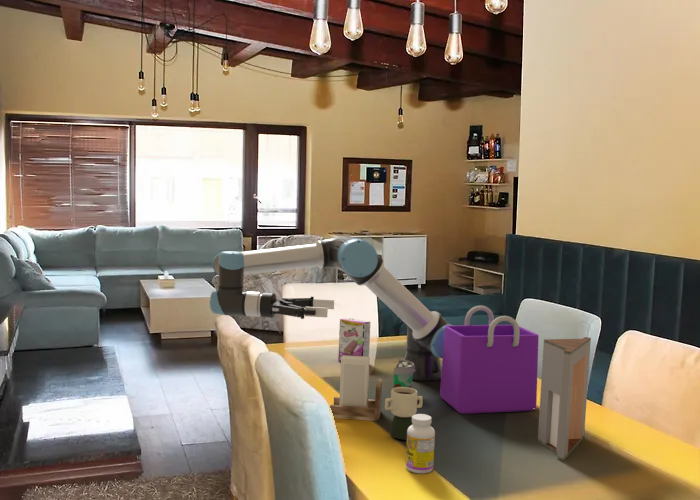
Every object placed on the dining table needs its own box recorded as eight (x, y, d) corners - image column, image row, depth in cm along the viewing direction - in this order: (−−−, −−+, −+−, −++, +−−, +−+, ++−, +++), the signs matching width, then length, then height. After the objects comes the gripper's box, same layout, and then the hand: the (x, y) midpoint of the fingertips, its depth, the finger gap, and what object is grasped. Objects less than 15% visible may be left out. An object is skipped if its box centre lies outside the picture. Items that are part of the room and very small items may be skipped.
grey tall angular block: (563, 461, 176) (570, 351, 173) (526, 452, 181) (532, 346, 178) (584, 437, 193) (590, 337, 191) (549, 429, 199) (555, 332, 196)
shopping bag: (501, 390, 235) (506, 302, 233) (545, 410, 216) (551, 314, 213) (430, 398, 224) (434, 306, 221) (469, 420, 204) (474, 319, 201)
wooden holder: (380, 411, 209) (382, 378, 208) (378, 421, 200) (380, 387, 199) (334, 408, 211) (335, 375, 210) (329, 417, 202) (330, 383, 201)
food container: (412, 400, 221) (413, 369, 220) (392, 398, 222) (394, 367, 221) (416, 389, 233) (417, 360, 232) (397, 387, 234) (399, 358, 233)
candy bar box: (337, 361, 267) (339, 318, 265) (344, 358, 271) (346, 317, 269) (362, 366, 261) (364, 322, 259) (369, 363, 265) (371, 320, 263)
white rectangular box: (367, 409, 207) (369, 356, 206) (366, 414, 203) (368, 360, 201) (340, 407, 208) (342, 355, 207) (339, 412, 204) (340, 358, 202)
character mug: (415, 431, 193) (417, 385, 192) (426, 440, 186) (428, 393, 185) (378, 434, 190) (380, 387, 188) (388, 444, 183) (390, 395, 182)
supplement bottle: (403, 463, 171) (405, 412, 169) (430, 463, 171) (432, 412, 170) (407, 474, 164) (410, 421, 163) (435, 474, 165) (438, 421, 163)
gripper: (270, 309, 225) (336, 313, 222) (250, 324, 200) (323, 329, 198) (271, 286, 224) (336, 290, 222) (251, 298, 199) (324, 303, 197)
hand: (330, 308), depth 210 cm, fingers open, 13 cm apart
